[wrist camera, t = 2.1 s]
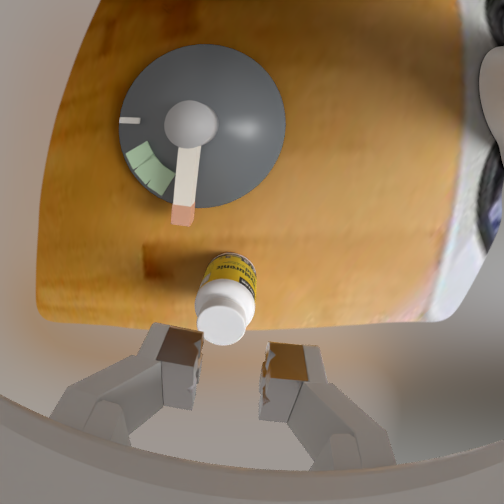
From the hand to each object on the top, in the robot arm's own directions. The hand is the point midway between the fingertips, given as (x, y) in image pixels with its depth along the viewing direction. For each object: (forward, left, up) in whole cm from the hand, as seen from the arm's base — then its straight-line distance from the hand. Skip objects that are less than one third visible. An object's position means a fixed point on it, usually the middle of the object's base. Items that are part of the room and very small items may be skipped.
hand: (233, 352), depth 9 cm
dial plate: (+6, -6, -23) cm, 25 cm away
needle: (+6, -3, -22) cm, 23 cm away
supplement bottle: (+1, +9, -23) cm, 25 cm away
